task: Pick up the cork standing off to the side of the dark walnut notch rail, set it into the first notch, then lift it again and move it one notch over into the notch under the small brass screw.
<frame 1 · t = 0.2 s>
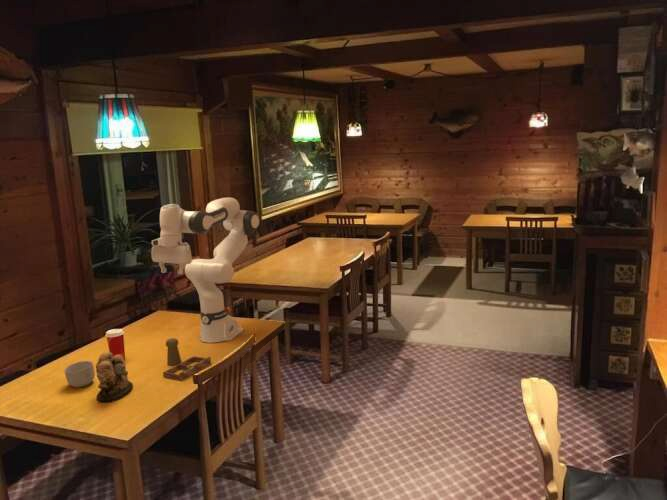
hand: (172, 273, 243), 38 cm above the table, tool pointing down, fingers open, 8 cm apart
cork: (174, 363, 243), on the table
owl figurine: (114, 393, 217), on the table
teacup: (82, 383, 228), on the table
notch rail: (187, 370, 235), on the table
paper cup: (118, 361, 249), on the table
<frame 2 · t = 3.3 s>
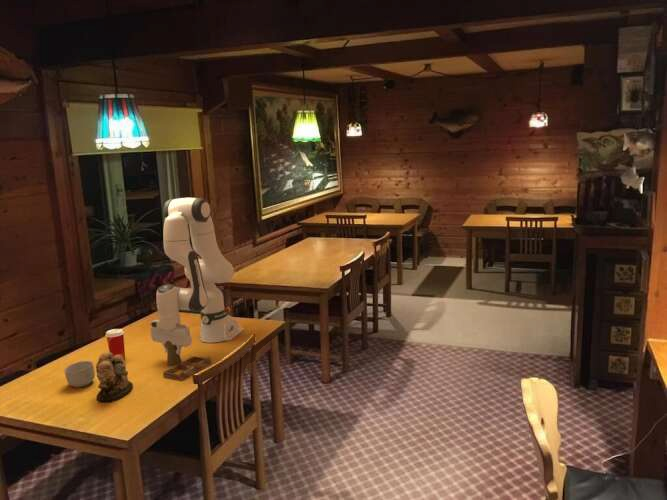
hand: (173, 353, 242), 5 cm above the table, tool pointing down, fingers closed on cork, 4 cm apart
cork: (174, 363, 243), on the table, touching gripper
everything else where it was.
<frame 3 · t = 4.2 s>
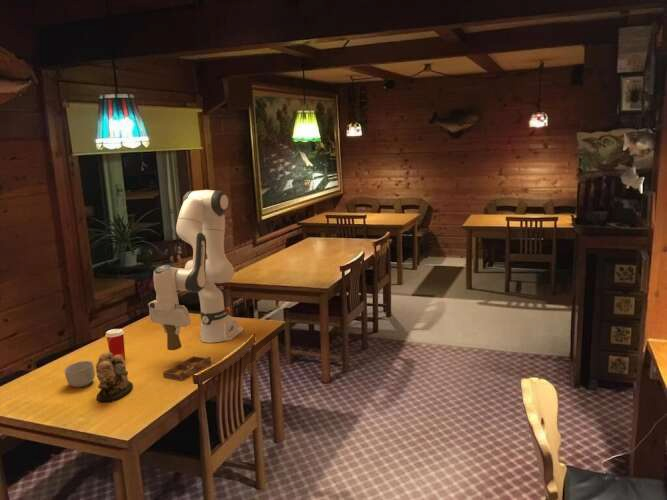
hand: (172, 333, 242), 13 cm above the table, tool pointing down, fingers closed on cork, 4 cm apart
cork: (174, 347, 243), point 7 cm above the table, touching gripper
everything else where it was.
when the fingers open (6 cm above the table, at t = 8.0 s): cork stays where it is, resting in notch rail.
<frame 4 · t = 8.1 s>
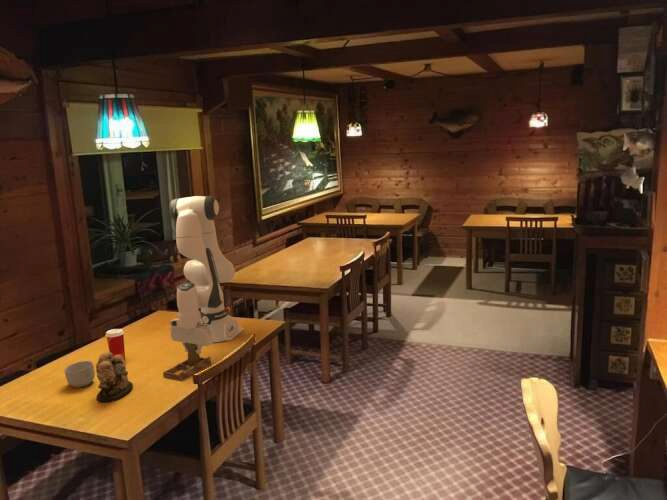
hand: (193, 352, 238), 6 cm above the table, tool pointing down, fingers open, 4 cm apart
cork: (194, 366, 239), resting in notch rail
everything else where it was.
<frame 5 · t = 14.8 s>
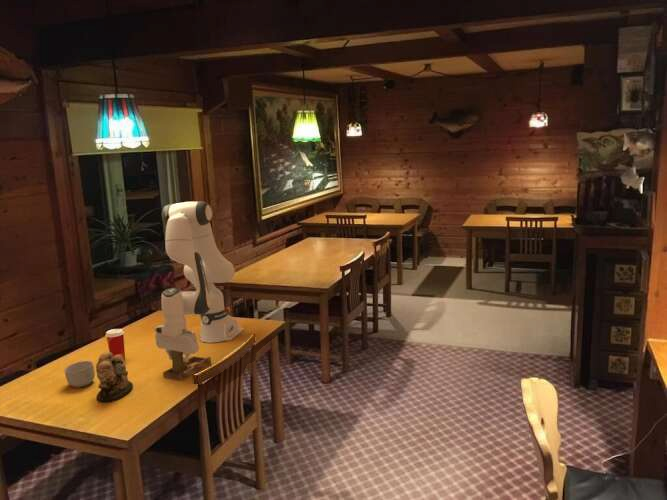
hand: (179, 360, 230), 6 cm above the table, tool pointing down, fingers open, 6 cm apart
cork: (179, 374, 231), resting in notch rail
everything else where it was.
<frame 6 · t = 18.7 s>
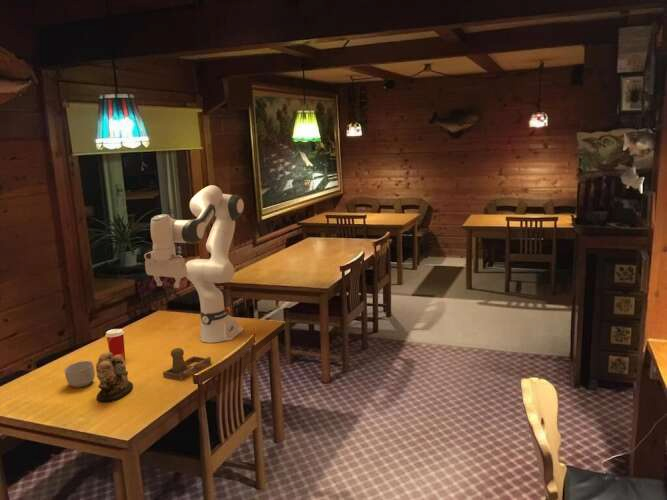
hand: (168, 286, 234), 35 cm above the table, tool pointing down, fingers open, 8 cm apart
nothing on the table moved.
at the end: cork 0.3 cm from the target spot on the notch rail, point 0.0 cm above the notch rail's base; cork tilted 0°; the gripper is holding nothing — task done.
